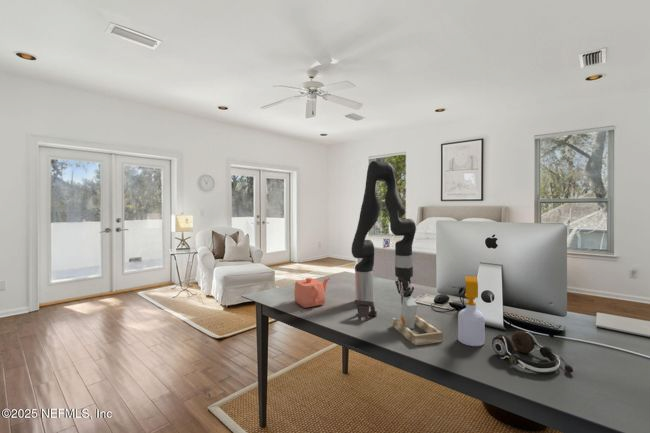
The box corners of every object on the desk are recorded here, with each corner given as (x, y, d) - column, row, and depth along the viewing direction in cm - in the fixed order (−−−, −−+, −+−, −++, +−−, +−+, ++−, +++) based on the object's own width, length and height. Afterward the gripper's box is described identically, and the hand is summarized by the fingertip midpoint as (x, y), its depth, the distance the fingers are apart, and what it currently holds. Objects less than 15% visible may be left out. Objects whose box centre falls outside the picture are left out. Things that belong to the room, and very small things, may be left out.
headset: (524, 324, 115) (584, 357, 97) (521, 343, 117) (579, 379, 98) (487, 331, 110) (543, 368, 91) (484, 352, 111) (539, 392, 93)
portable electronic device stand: (377, 315, 149) (376, 298, 149) (372, 321, 142) (372, 303, 142) (359, 313, 153) (359, 296, 152) (353, 319, 146) (353, 301, 145)
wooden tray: (392, 326, 137) (392, 318, 136) (416, 323, 139) (416, 315, 139) (415, 345, 118) (415, 336, 118) (442, 341, 121) (442, 332, 120)
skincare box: (399, 319, 138) (402, 296, 134) (409, 319, 139) (412, 296, 134) (404, 329, 133) (407, 305, 128) (414, 329, 133) (417, 305, 129)
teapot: (339, 305, 166) (339, 279, 165) (305, 311, 157) (304, 284, 156) (322, 295, 183) (322, 271, 183) (291, 300, 175) (290, 275, 174)
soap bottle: (482, 337, 123) (482, 275, 122) (486, 348, 114) (486, 280, 113) (457, 335, 126) (457, 273, 125) (459, 345, 117) (458, 279, 116)
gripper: (389, 263, 142) (389, 301, 143) (403, 268, 129) (404, 311, 130) (404, 262, 144) (405, 300, 144) (419, 267, 131) (420, 309, 132)
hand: (404, 305), depth 137 cm, fingers closed
